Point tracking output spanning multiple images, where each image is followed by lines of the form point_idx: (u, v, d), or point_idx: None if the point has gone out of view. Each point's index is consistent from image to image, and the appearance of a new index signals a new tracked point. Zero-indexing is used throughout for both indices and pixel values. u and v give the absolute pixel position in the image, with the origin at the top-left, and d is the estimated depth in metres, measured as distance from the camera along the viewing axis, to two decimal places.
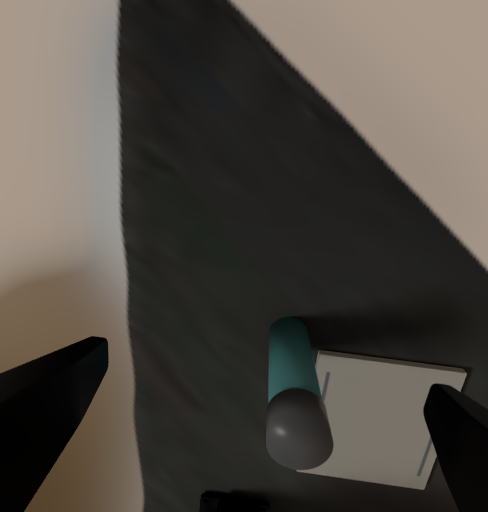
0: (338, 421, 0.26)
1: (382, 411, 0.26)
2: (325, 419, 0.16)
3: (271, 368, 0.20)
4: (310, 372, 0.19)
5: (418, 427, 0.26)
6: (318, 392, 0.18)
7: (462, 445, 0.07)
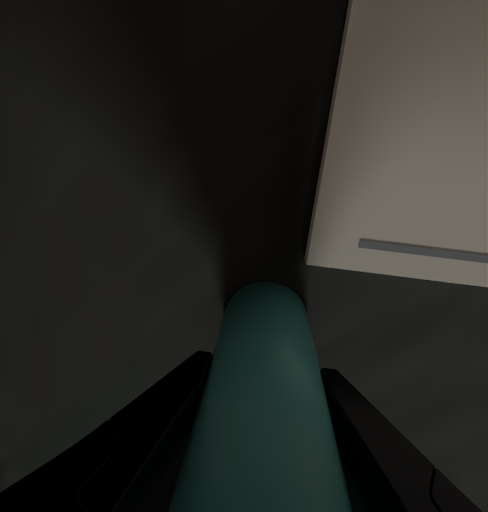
0: None
1: None
2: None
3: None
4: (196, 436, 0.06)
5: None
6: (200, 492, 0.04)
7: None
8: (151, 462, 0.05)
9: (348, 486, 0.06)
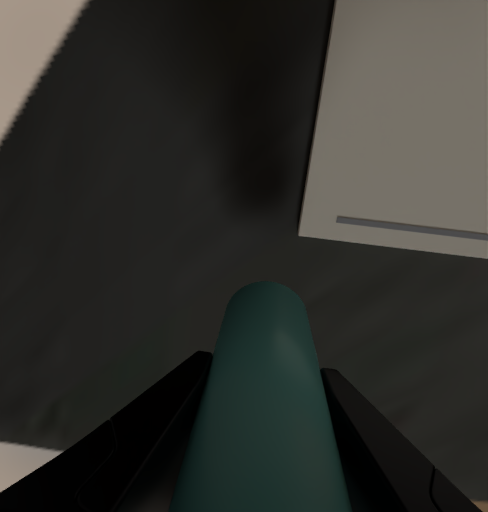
0: (457, 192, 0.13)
1: (439, 103, 0.12)
2: None
3: None
4: (196, 435, 0.06)
5: None
6: (201, 492, 0.04)
7: None
8: (151, 462, 0.05)
9: (348, 486, 0.06)
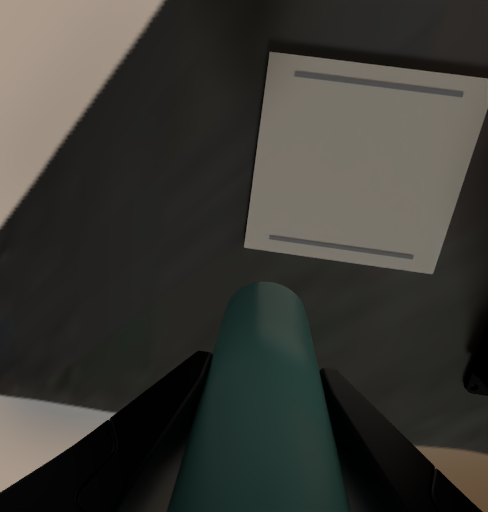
0: (347, 220, 0.20)
1: (332, 164, 0.19)
2: None
3: None
4: (195, 436, 0.06)
5: (363, 109, 0.18)
6: (200, 493, 0.04)
7: None
8: (151, 462, 0.05)
9: (348, 486, 0.06)
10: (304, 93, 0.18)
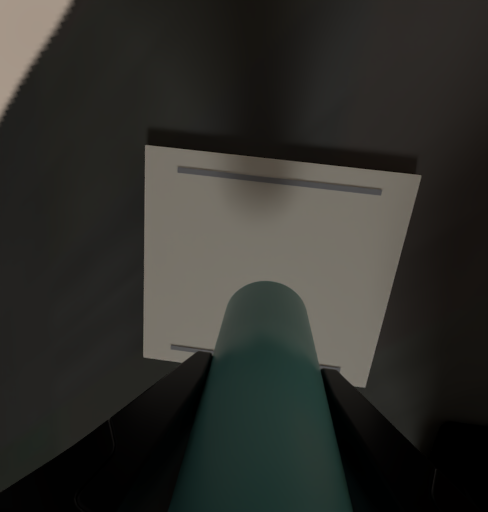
0: None
1: (234, 268, 0.16)
2: None
3: None
4: (196, 435, 0.06)
5: (263, 208, 0.15)
6: (200, 492, 0.04)
7: None
8: (151, 462, 0.05)
9: (348, 486, 0.06)
10: (192, 191, 0.15)
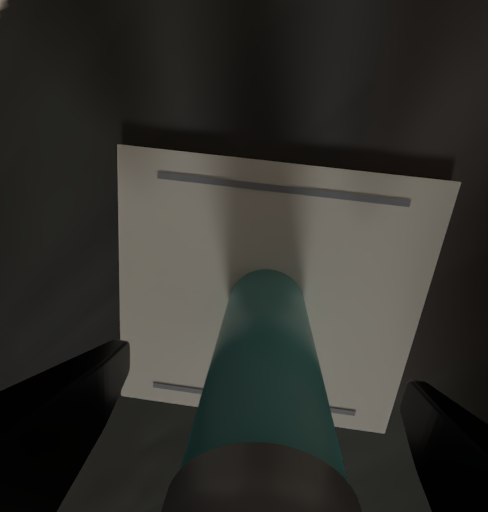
0: None
1: (228, 294, 0.13)
2: None
3: None
4: (209, 387, 0.07)
5: (264, 222, 0.12)
6: (215, 422, 0.06)
7: (433, 441, 0.07)
8: (6, 440, 0.05)
9: (474, 505, 0.06)
10: (175, 201, 0.12)
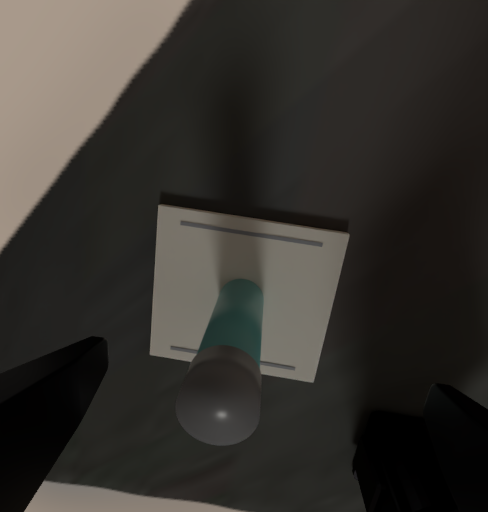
0: None
1: (218, 292, 0.22)
2: (195, 370, 0.12)
3: None
4: (206, 333, 0.16)
5: (240, 251, 0.21)
6: (208, 342, 0.14)
7: (462, 445, 0.07)
8: None
9: None
10: (190, 237, 0.21)
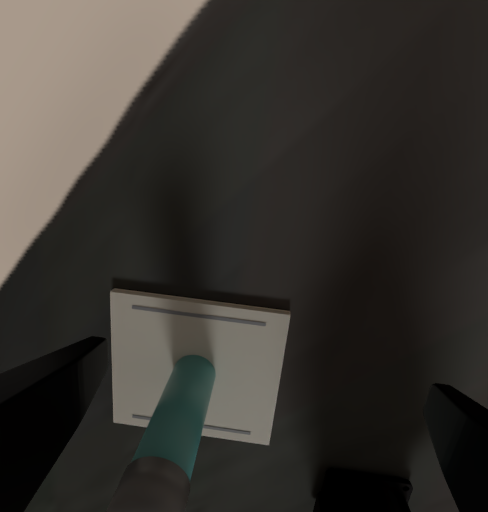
0: None
1: (173, 367, 0.23)
2: (121, 489, 0.14)
3: None
4: (145, 432, 0.17)
5: (190, 331, 0.22)
6: (142, 448, 0.16)
7: (462, 445, 0.07)
8: None
9: None
10: (142, 319, 0.22)
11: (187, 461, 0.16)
